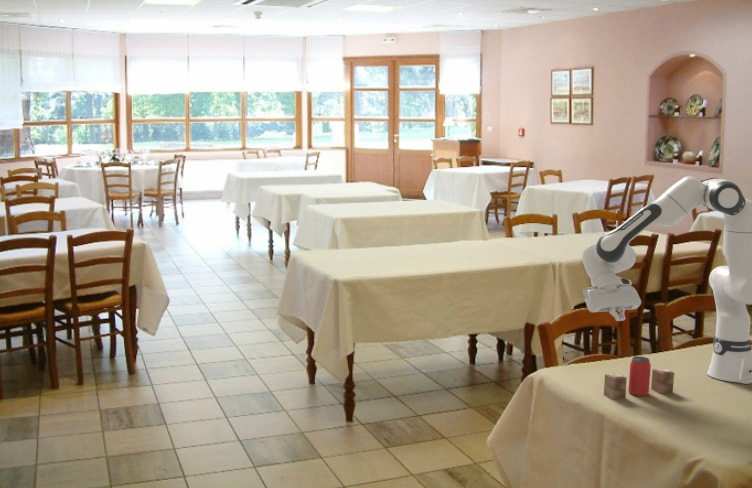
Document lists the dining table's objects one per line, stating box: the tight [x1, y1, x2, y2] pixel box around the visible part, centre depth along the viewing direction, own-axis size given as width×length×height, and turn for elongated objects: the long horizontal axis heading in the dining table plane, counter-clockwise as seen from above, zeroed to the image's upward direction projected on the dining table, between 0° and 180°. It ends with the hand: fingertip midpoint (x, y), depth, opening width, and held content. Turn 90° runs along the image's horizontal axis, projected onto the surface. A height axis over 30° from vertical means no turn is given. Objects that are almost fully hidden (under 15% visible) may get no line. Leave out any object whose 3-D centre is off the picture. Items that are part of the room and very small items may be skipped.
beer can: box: [627, 356, 652, 397], centre depth 297 cm, size 7×7×12 cm
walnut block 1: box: [603, 372, 627, 400], centre depth 294 cm, size 5×5×7 cm
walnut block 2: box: [650, 367, 675, 395], centre depth 301 cm, size 5×5×7 cm
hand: (621, 320), depth 305 cm, fingers closed
